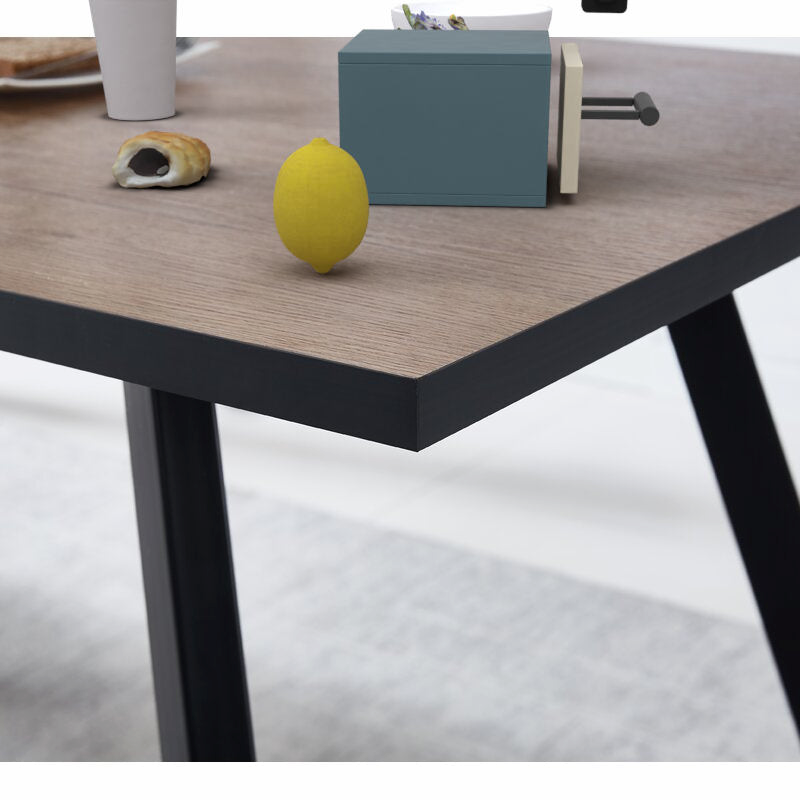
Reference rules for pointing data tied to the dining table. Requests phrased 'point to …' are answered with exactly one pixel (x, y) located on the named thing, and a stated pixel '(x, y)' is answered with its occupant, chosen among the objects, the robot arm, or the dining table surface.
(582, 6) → the robot arm
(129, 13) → the coffee cup
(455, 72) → the cabinet
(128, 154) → the pastry
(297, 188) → the lemon
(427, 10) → the bowl
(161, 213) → the dining table surface
